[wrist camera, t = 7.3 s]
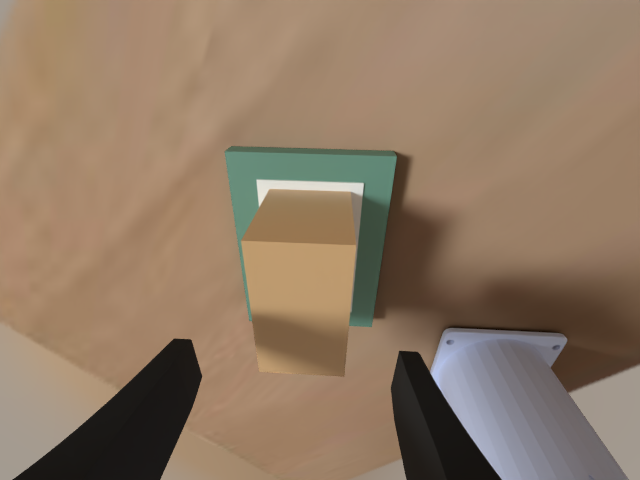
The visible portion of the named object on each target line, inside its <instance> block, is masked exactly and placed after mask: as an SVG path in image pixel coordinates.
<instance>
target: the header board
mask: <svg viewBox="0 0 640 480" xmlns="http://www.w3.org/2000/svg"><path fill="white" fill-rule="evenodd" d="M225 157H226V164H227V171H228V178H229V185H230V191H231V198H232V205H233V212H234V219H235V226H236V233H237V239H238V246H239V253H240V260H241V267H242V274H243V281H244V287H245V294H246V301H247V308H248V315H249V321H252V316H251V309H250V302H249V294H248V287H247V280H246V273H245V266H244V259H243V251H242V244H241V240H242V238H243V236H244V234H245V232H246V231H247V229H248V227H249V225H250V223H251V222H252V220H253V218H254V216H255V214H256V212H257V211H258V209H259V207H260V205H261V203H262V201H263V200H264V198H265V196H266V194H267V192H268V190H269V189H288V190H317V191H347V192H351V199H352V209H353V218H354V228H355V238H356V254H355V265H354V276H353V287H352V297H351V308H350V319H349V326H362V327H372V322H373V315H374V308H375V301H376V295H377V288H378V281H379V274H380V267H381V261H382V254H383V247H384V240H385V234H386V227H387V220H388V213H389V206H390V200H391V193H392V186H393V179H394V173H395V166H396V159H397V156H396V154H395V153H394V151H376V150H342V149H307V148H272V147H238V146H231V147H230V148H228V149H227V150H226V151H225Z"/></svg>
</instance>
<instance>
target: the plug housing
mask: <svg viewBox="0 0 640 480" xmlns="http://www.w3.org/2000/svg"><path fill="white" fill-rule="evenodd" d="M241 244H242V251H243V259H244V266H245V273H246V280H247V287H248V294H249V302H250V309H251V316H252V323H253V330H254V338H255V345H256V352H257V359H258V366H259V372H271V373H289V374H307V375H325V376H343V377H344V373H345V363H346V352H347V341H348V330H349V319H350V308H351V297H352V287H353V276H354V265H355V254H356V238H355V228H354V218H353V209H352V199H351V192H347V191H317V190H288V189H269V190H268V192H267V194H266V196H265V198H264V200H263V201H262V203H261V205H260V207H259V209H258V211H257V212H256V214H255V216H254V218H253V220H252V222H251V223H250V225H249V227H248V229H247V231H246V232H245V234H244V236H243V238H242V240H241Z"/></svg>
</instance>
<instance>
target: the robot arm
mask: <svg viewBox="0 0 640 480" xmlns="http://www.w3.org/2000/svg"><path fill="white" fill-rule="evenodd" d="M566 343H567V338H566V337H565V336H564V335H563V334H561V333H546V332H526V331H506V330H485V329H465V328H448V329H446V330H444V332H443V334H442V337H441V340H440V343H439V346H438V349H437V352H436V356H435V359H434V362H433V365H432V368H431V371H430V372H429V370H428V368H427V366H426V365H425V363H424V361H423V359H422V357H421V355H420V354H419V353H418V352H410V351H399V355H398V359H397V363H396V368H395V372H394V377H393V381H392V385H391V393H392V403H393V412H394V421H395V426H396V431H397V436H398V441H399V446H400V450H401V455H402V460H403V465H404V470H405V474H406V479H407V480H629V479H628V478H627V476H626V475H625V474H624V472H623V471H622V469H621V468H620V466H619V465H618V463H617V462H616V461H615V459H614V458H613V456H612V455H611V454H610V452H609V451H608V449H607V448H606V446H605V445H604V444H603V442H602V441H601V439H600V438H599V437H598V435H597V434H596V432H595V431H594V429H593V428H592V426H591V425H590V424H589V422H588V421H587V419H586V418H585V416H583V414H582V412H581V411H580V409H579V408H578V406H577V405H576V404H575V402H574V401H573V399H572V398H571V396H570V395H569V394H568V392H567V391H566V389H565V388H564V387H563V385H562V384H561V382H560V381H559V379H558V378H557V377H556V375H555V374H554V372H553V371H552V369H551V366H552V365H553V363H554V362H555V360H556V358H557V357H558V355H559V354H560V352H561V351H562V349H563V348H564V346H565V344H566ZM201 379H202V374H201V371H200V367H199V364H198V361H197V357H196V354H195V351H194V347H193V344H192V340H190V339H173V340H172V341H171V342H170V343H169V344H168V345H167V346H166V347H165V348H164V349H163V350H162V351H161V352H160V353H159V354H158V355H157V356H156V357H155V358H154V359H153V360H152V361H151V362H149V363H148V364H147V365H146V366H145V367H144V368H143V369H142V370H141V371H140V372H139V373H138V374H137V375H136V376H135V377H134V378H133V379H132V380H131V381H130V382H129V383H128V384H127V385H126V386H124V387H123V388H122V389H121V390H120V391H119V392H118V393H117V394H116V395H115V396H114V397H113V398H112V399H111V400H109V401H108V402H107V403H106V404H105V405H104V406H103V407H102V408H101V409H99V410H98V411H97V412H96V413H95V414H94V415H93V416H91V417H90V418H89V419H88V420H87V421H86V422H85V423H83V424H82V425H81V426H80V427H79V428H78V429H76V430H75V431H74V432H73V433H72V434H70V435H69V436H68V437H67V438H66V439H64V440H63V441H62V442H61V443H60V444H58V445H57V446H56V447H55V448H53V449H52V450H51V451H50V452H48V453H47V454H46V455H45V456H43V457H42V458H41V459H39V460H38V461H37V462H36V463H34V464H33V465H32V466H30V467H29V468H28V469H27V470H25V471H24V472H22V473H21V474H20V475H18V476H17V477H16V478H14V479H13V480H160V479H161V476H162V474H163V472H164V470H165V467H166V465H167V463H168V461H169V458H170V456H171V454H172V452H173V450H174V448H175V445H176V443H177V441H178V439H179V436H180V434H181V432H182V430H183V427H184V425H185V423H186V421H187V418H188V416H189V414H190V412H191V409H192V407H193V404H194V401H195V398H196V395H197V392H198V389H199V385H200V382H201Z"/></svg>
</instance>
